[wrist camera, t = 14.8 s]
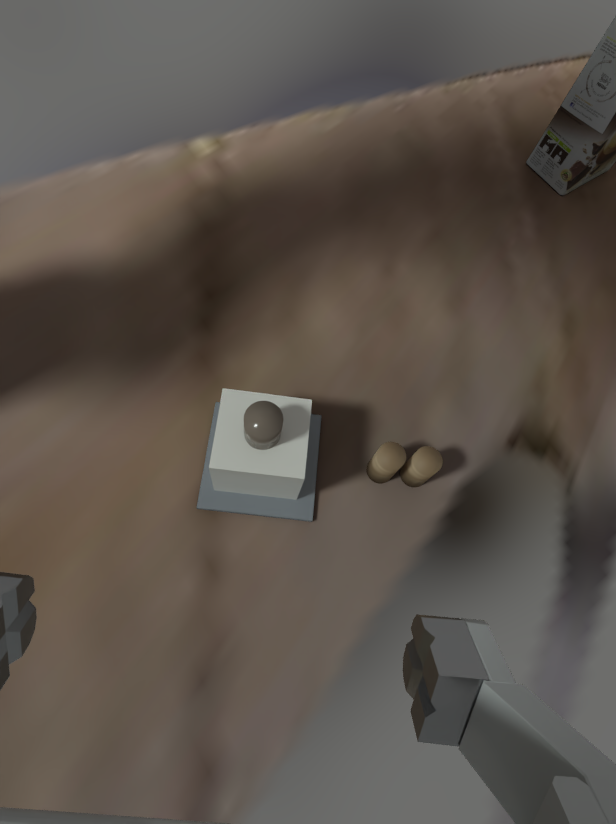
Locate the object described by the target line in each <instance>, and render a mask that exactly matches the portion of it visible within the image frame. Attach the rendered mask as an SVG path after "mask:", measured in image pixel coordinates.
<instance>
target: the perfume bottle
mask: <svg viewBox="0 0 616 824" xmlns="http://www.w3.org/2000/svg"><path fill="white" fill-rule="evenodd" d="M311 406H312V400H310V399H302V398H295V397H287V396H279V395H271V394H263V393H256V392H248V391H240V390H232V389H225V388H223V390H222V396H221V401H220V407H219V413H218V418H217V424H216V430H215V435H214V441H213V447H212V452H211V458H210V464H209V471H210V475H211V479H212V483H213V488H214V490H216V491H225V492H233V493H242V494H251V495H260V496H268V497H277V498H286V499H294V500H297V497H298V495H299V492H300V490H301V487H302V484H303V482H304V479H305V469H306V459H307V448H308V438H309V427H310V416H311Z"/></svg>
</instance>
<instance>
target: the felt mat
mask: <svg viewBox="0 0 616 824" xmlns="http://www.w3.org/2000/svg"><path fill="white" fill-rule="evenodd" d="M219 407H220V402H216V404H215V409H214V415H213V420H212V426H211V431H210V437H209V442H208V448H207V453H206V459H205V464H204V470H203V475H202V481H201V487H200V492H199V498H198V503H197V509H204V510H213V511H221V512H230V513H239V514H248V515H257V516H266V517H275V518H284V519H293V520H302V521H311V522H312V521H313V510H314V498H315V486H316V474H317V462H318V450H319V438H320V427H321V415H314V414H311V416H310V427H309V438H308V448H307V459H306V469H305V479H304V482H303V484H302V487H301V490H300V492H299V495H298V497H297V500H294V499H286V498H277V497H268V496H260V495H251V494H242V493H233V492H225V491H216V490H214V488H213V483H212V479H211V475H210V471H209V464H210V458H211V452H212V447H213V441H214V435H215V430H216V424H217V418H218V413H219Z"/></svg>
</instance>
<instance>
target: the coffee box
mask: <svg viewBox="0 0 616 824" xmlns="http://www.w3.org/2000/svg"><path fill="white" fill-rule="evenodd" d="M615 162H616V17H615V18H614V20H613V21H612V23H611V25H610V26H609V28H608V29H607V31H606V33H605V34H604V36H603V38H602V39H601V41H600V43H599V44H598V46H597V47H596V49H595V50H594V52H593V54H592V55H591V57H590V59H589V60H588V62H587V64H586V65H585V67H584V68H583V70H582V72H581V73H580V75H579V77H578V78H577V80H576V81H575V83H574V85H573V86H572V88H571V90H570V91H569V93H568V94H567V96H566V98H565V99H564V101H563V103H562V104H561V106H560V108H559V109H558V111H557V113H556V114H555V116H554V118H553V119H552V121H551V122H550V124H549V126H548V127H547V129H546V131H545V132H544V134H543V136H542V137H541V139H540V140H539V142H538V144H537V145H536V147H535V149H534V150H533V152H532V153H531V155H530V157H529V158H528V160H527V162H526V163H527V164H528V165H529V166H530V167H531V168H532V169H533V170H534V171H535V172H536V173H537V174H538V175H540V176H541V177H542V178H543V179H544V180H545V181H546V182H547V183H548V184H549V185H550V186H551V187H552V188H553V189H554V190H556V191H557V192H558V193H559V194H560V195H565V194H567V193H569V192H570V191H572V190H574V189H576V188H577V187H579V186H581V185H583V184H585V183H586V182H588V181H590V180H592V179H593V178H595V177H597V176H599V175H601V174H602V173H604V172H606V171H608V170H609V169H610V168H611V167H612V165H613V164H614V163H615Z"/></svg>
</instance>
